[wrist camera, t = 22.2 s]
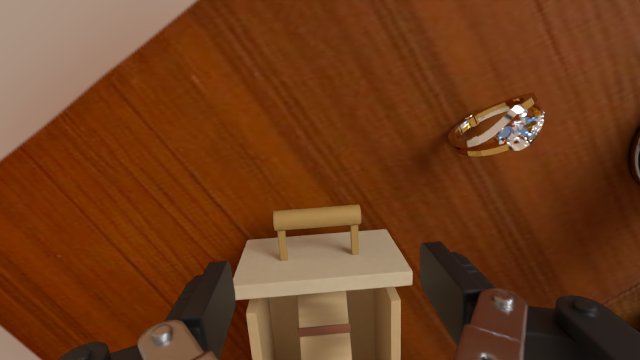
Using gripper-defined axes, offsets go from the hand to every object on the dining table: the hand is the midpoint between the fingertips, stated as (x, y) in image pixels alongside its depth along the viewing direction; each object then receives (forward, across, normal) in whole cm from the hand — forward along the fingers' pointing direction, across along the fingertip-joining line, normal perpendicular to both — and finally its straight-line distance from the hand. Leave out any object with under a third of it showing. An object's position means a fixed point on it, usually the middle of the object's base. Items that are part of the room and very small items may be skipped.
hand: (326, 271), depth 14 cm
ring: (+18, -15, -4) cm, 24 cm away
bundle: (+9, 0, +21) cm, 23 cm away
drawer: (+17, 0, +12) cm, 21 cm away
